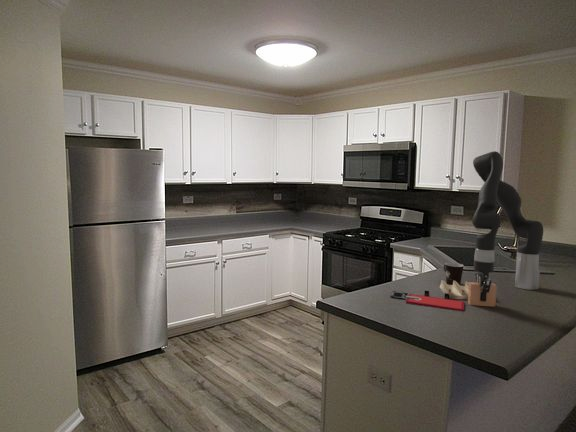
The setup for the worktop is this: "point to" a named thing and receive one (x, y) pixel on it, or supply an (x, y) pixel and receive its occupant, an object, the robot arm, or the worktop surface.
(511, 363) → the worktop surface
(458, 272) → the coffee mug
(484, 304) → the tile
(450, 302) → the red board with handle
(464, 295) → the dish rack
